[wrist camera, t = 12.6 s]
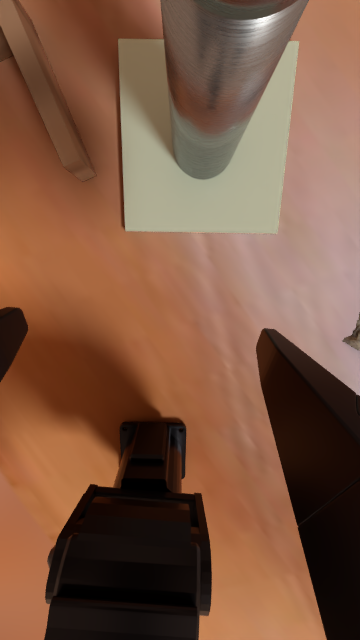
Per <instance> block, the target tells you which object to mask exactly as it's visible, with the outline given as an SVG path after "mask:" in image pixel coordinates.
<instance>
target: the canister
mask: <svg viewBox="0 0 360 640" xmlns="http://www.w3.org/2000/svg"><path fill="white" fill-rule="evenodd" d="M308 1H309V0H161V12H162V24H163V36H164V48H165V61H166V73H167V85H168V97H169V109H170V121H171V133H172V145H173V153H174V157H175V160H176V162H177V164H178V166H179V167H180V168H181V170H182V171H183V172H184V173H186V174H187V175H188V176H190V177H192V178H195V179H200V180H206V179H211V178H213V177H216V176H217V175H219V174H220V173H222V172H223V171H224V170H225V169H226V167H227V166H228V165H229V163H230V161H231V159H232V157H233V155H234V153H235V151H236V149H237V147H238V145H239V143H240V141H241V138H242V136H243V134H244V132H245V130H246V128H247V126H248V124H249V122H250V120H251V118H252V116H253V114H254V112H255V110H256V108H257V106H258V104H259V101H260V99H261V97H262V95H263V93H264V91H265V89H266V87H267V85H268V83H269V81H270V79H271V77H272V75H273V73H274V71H275V69H276V67H277V65H278V62H279V60H280V58H281V56H282V54H283V52H284V50H285V48H286V46H287V44H288V42H289V40H290V38H291V36H292V34H293V32H294V30H295V28H296V26H297V23H298V21H299V19H300V17H301V15H302V13H303V11H304V9H305V7H306V5H307V3H308Z"/></svg>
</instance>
